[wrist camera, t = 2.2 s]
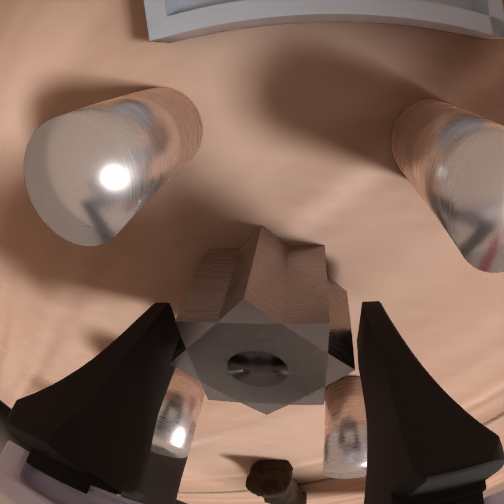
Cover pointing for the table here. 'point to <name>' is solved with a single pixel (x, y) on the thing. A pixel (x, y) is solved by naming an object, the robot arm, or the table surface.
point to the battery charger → (162, 479)
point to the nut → (265, 325)
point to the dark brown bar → (275, 482)
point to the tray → (320, 15)
